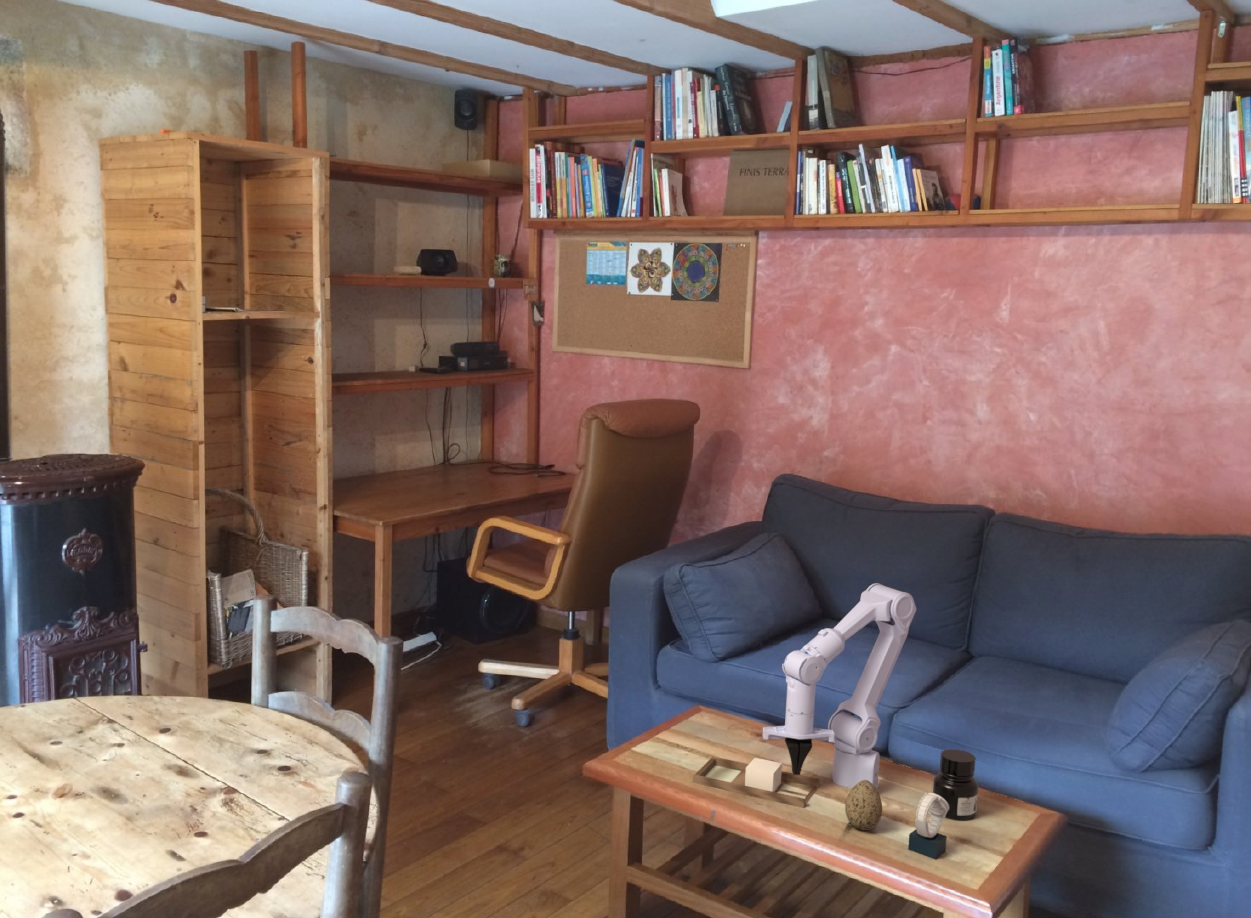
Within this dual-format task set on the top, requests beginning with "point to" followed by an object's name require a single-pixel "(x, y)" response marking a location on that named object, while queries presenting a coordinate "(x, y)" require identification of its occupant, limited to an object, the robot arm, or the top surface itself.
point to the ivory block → (763, 774)
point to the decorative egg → (863, 806)
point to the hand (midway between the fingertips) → (796, 772)
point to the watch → (929, 827)
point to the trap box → (733, 780)
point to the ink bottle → (957, 784)
